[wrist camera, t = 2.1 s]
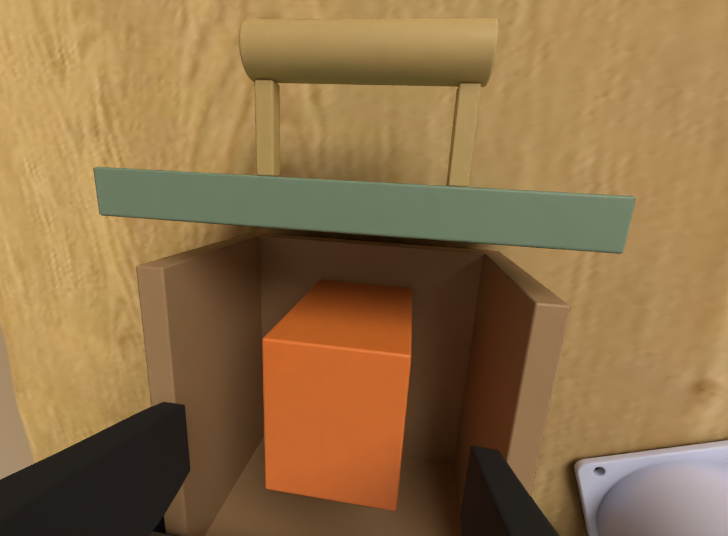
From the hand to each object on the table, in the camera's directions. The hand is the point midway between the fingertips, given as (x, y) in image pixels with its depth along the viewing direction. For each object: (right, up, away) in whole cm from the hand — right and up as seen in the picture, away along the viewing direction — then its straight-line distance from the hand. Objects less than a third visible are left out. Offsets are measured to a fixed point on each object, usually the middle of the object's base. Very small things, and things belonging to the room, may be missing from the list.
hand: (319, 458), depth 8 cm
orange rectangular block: (+1, +2, +7) cm, 7 cm away
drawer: (+1, +4, +7) cm, 8 cm away
